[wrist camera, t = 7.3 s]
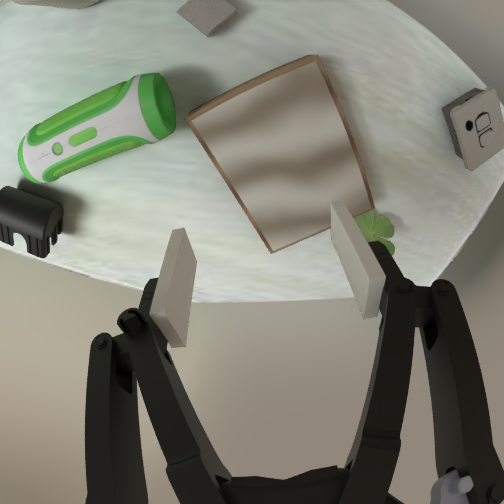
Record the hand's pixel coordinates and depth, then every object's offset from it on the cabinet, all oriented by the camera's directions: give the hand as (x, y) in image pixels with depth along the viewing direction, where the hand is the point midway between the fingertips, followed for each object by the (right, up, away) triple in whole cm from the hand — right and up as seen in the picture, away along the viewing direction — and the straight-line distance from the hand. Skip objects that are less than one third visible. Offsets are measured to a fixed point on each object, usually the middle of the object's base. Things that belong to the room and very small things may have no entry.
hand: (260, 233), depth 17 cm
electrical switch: (+26, +15, +12) cm, 32 cm away
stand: (+4, +10, +14) cm, 18 cm away
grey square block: (-5, +23, +4) cm, 24 cm away
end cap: (-31, +6, +15) cm, 35 cm away
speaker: (-17, +14, +10) cm, 24 cm away
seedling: (+15, 0, +23) cm, 28 cm away
